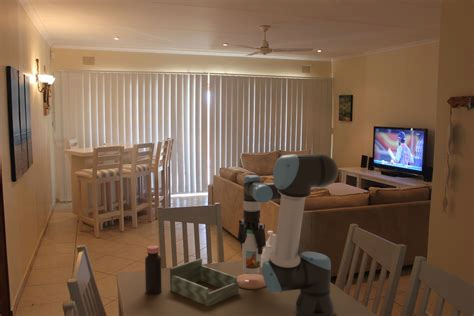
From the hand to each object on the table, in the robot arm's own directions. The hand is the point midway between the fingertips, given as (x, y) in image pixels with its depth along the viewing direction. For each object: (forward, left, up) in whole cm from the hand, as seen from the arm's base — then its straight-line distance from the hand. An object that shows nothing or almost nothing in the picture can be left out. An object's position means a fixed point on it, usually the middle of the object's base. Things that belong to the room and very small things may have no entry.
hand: (251, 258), depth 207 cm
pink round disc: (0, 0, -11) cm, 11 cm away
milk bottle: (0, 0, -6) cm, 6 cm away
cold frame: (+8, +22, -11) cm, 26 cm away
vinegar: (+24, +37, -11) cm, 46 cm away
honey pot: (+6, -24, -11) cm, 27 cm away
